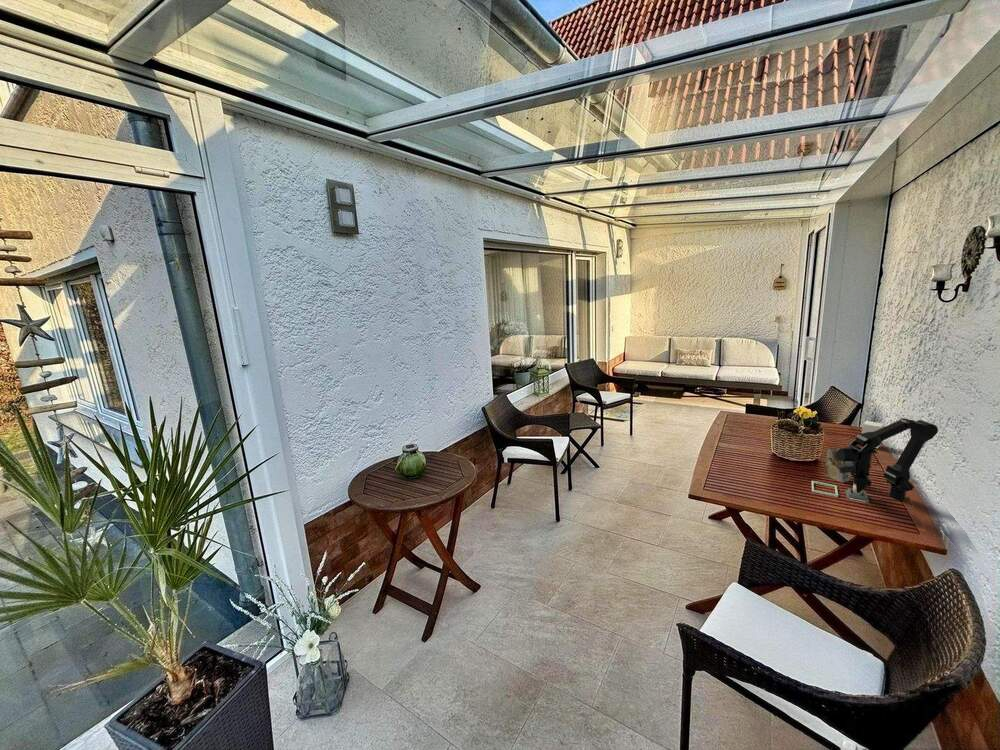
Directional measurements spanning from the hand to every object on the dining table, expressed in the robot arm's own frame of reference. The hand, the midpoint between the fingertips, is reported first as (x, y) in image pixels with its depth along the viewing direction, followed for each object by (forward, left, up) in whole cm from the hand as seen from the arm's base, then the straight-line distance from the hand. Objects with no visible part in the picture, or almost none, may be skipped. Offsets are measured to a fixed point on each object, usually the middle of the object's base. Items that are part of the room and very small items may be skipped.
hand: (857, 491), depth 199 cm
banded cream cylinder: (0, 0, -3) cm, 3 cm away
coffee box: (-19, -7, -4) cm, 20 cm away
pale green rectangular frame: (0, -13, -4) cm, 13 cm away
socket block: (0, 0, -4) cm, 4 cm away
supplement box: (-84, +13, -4) cm, 85 cm away
